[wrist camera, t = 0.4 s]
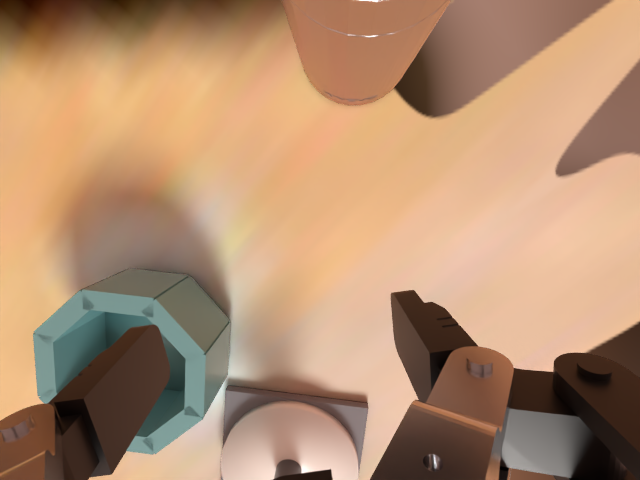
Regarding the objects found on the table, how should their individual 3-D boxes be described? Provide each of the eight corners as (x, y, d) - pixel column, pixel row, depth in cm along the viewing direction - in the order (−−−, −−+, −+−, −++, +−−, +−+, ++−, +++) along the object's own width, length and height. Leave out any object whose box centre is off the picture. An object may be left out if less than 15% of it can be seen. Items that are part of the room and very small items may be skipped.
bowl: (95, 260, 32) (29, 283, 25) (235, 276, 32) (207, 304, 25) (99, 387, 35) (41, 439, 28) (229, 404, 34) (202, 461, 28)
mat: (228, 385, 34) (225, 390, 33) (367, 403, 34) (368, 408, 33) (222, 500, 37) (219, 507, 36) (350, 518, 36) (351, 525, 36)
